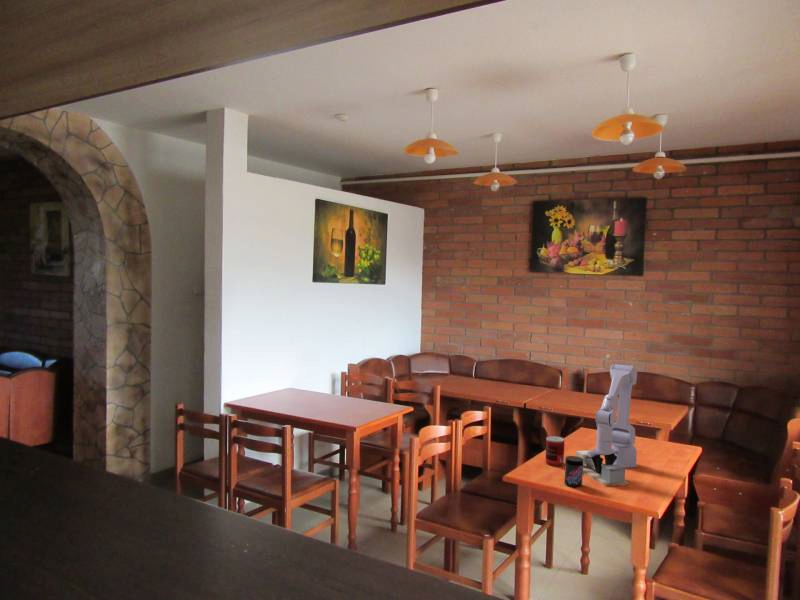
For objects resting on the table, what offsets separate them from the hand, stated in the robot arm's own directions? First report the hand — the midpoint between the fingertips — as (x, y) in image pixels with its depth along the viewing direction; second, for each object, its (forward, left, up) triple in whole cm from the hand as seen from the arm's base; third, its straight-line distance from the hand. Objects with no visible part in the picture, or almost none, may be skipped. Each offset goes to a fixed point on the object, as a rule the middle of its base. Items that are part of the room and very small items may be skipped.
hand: (603, 472), depth 234 cm
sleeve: (0, -12, -2) cm, 12 cm away
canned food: (+11, -19, -2) cm, 22 cm away
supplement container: (+17, +6, -2) cm, 18 cm away
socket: (0, +7, -1) cm, 7 cm away
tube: (0, -2, -1) cm, 2 cm away
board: (0, -4, -2) cm, 4 cm away
